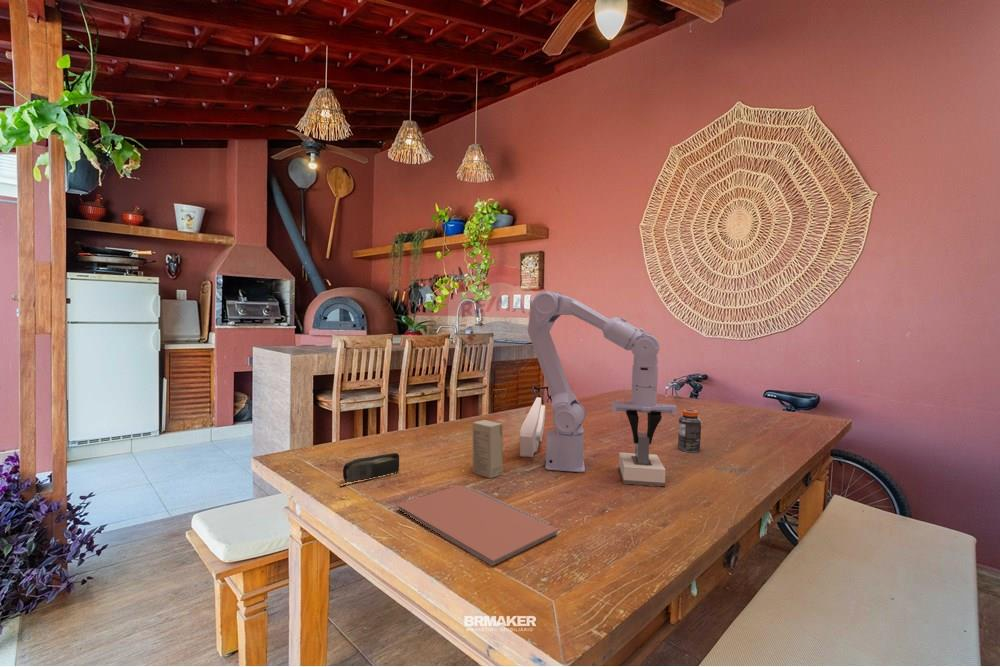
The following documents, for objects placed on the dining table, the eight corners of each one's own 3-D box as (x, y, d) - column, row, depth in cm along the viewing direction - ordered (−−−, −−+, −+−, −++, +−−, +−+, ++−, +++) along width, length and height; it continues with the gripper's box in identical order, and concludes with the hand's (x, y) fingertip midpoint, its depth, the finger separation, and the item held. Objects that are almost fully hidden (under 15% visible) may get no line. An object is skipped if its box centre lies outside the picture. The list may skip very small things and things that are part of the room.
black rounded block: (394, 450, 116) (335, 462, 106) (402, 453, 114) (342, 465, 104) (394, 470, 117) (335, 484, 106) (401, 474, 115) (341, 488, 104)
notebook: (562, 536, 86) (562, 525, 86) (493, 571, 74) (493, 558, 74) (463, 491, 105) (464, 482, 105) (396, 513, 94) (396, 503, 94)
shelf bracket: (547, 435, 150) (548, 397, 147) (536, 479, 127) (536, 435, 123) (530, 434, 151) (530, 396, 148) (516, 477, 128) (515, 433, 125)
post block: (623, 484, 110) (624, 466, 110) (618, 468, 121) (619, 452, 121) (664, 487, 109) (665, 469, 109) (656, 470, 120) (656, 454, 120)
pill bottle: (701, 449, 139) (703, 410, 139) (697, 454, 134) (699, 413, 134) (680, 445, 143) (682, 407, 142) (675, 450, 138) (677, 410, 137)
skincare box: (503, 474, 115) (504, 423, 114) (490, 479, 111) (491, 426, 111) (483, 468, 119) (485, 418, 118) (471, 472, 116) (472, 421, 115)
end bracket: (637, 463, 112) (638, 437, 112) (634, 457, 117) (635, 432, 117) (648, 463, 112) (649, 437, 112) (645, 457, 117) (645, 432, 117)
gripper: (614, 387, 111) (612, 445, 112) (680, 389, 109) (677, 449, 110) (611, 382, 118) (609, 437, 119) (673, 384, 116) (671, 441, 117)
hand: (642, 442), depth 115 cm, fingers closed on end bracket, 2 cm apart
